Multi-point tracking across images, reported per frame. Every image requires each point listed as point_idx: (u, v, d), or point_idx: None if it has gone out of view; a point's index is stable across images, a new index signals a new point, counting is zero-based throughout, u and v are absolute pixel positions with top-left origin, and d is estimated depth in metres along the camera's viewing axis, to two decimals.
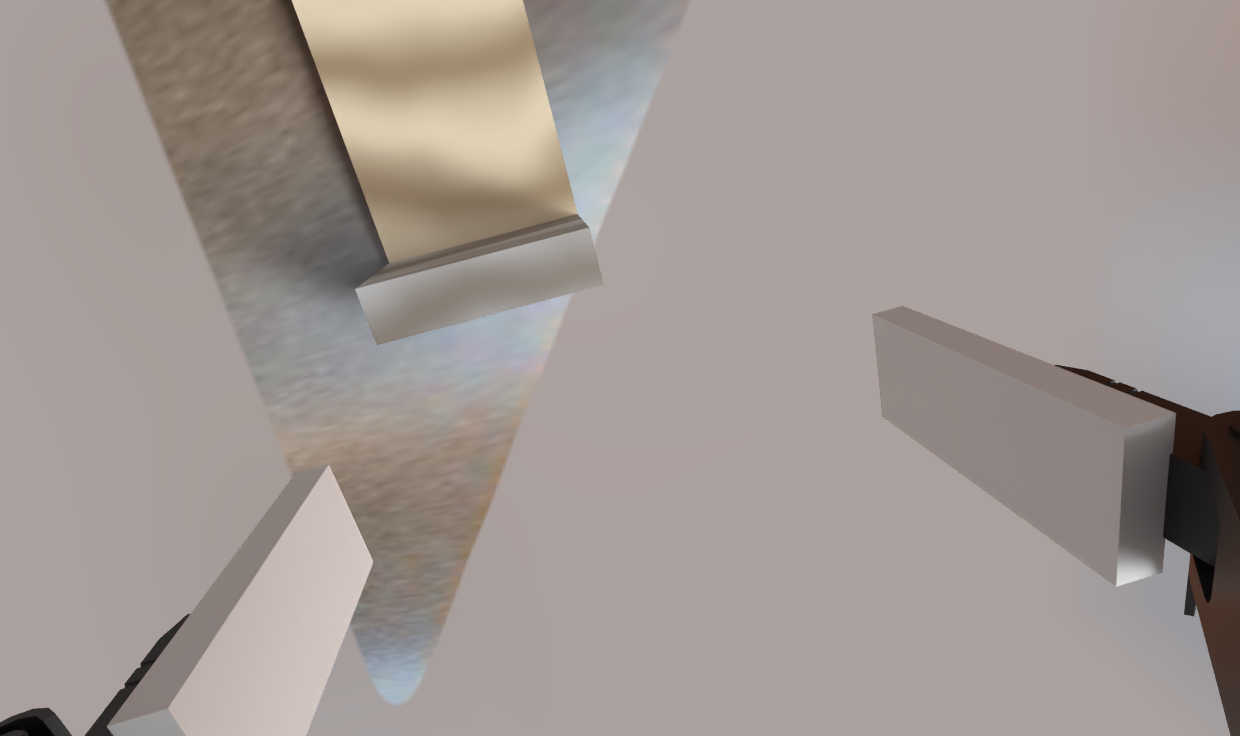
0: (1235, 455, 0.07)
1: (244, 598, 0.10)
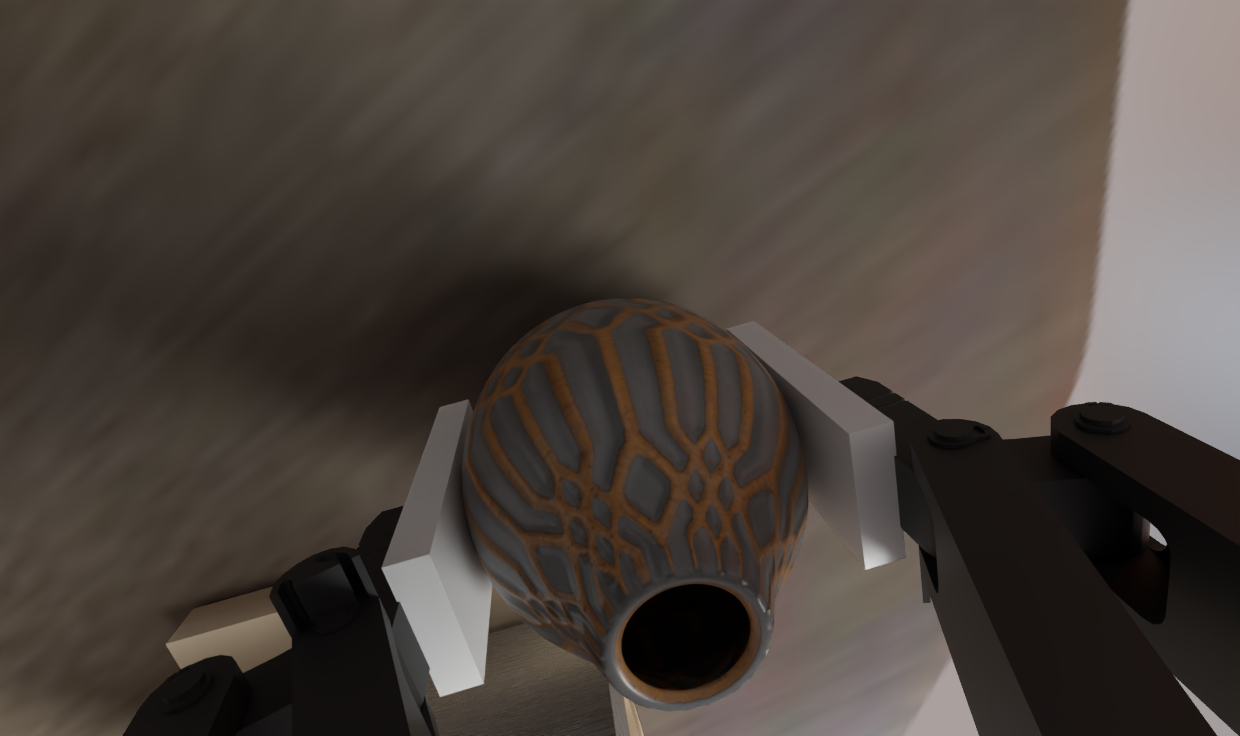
0: (934, 462, 0.09)
1: (448, 488, 0.11)
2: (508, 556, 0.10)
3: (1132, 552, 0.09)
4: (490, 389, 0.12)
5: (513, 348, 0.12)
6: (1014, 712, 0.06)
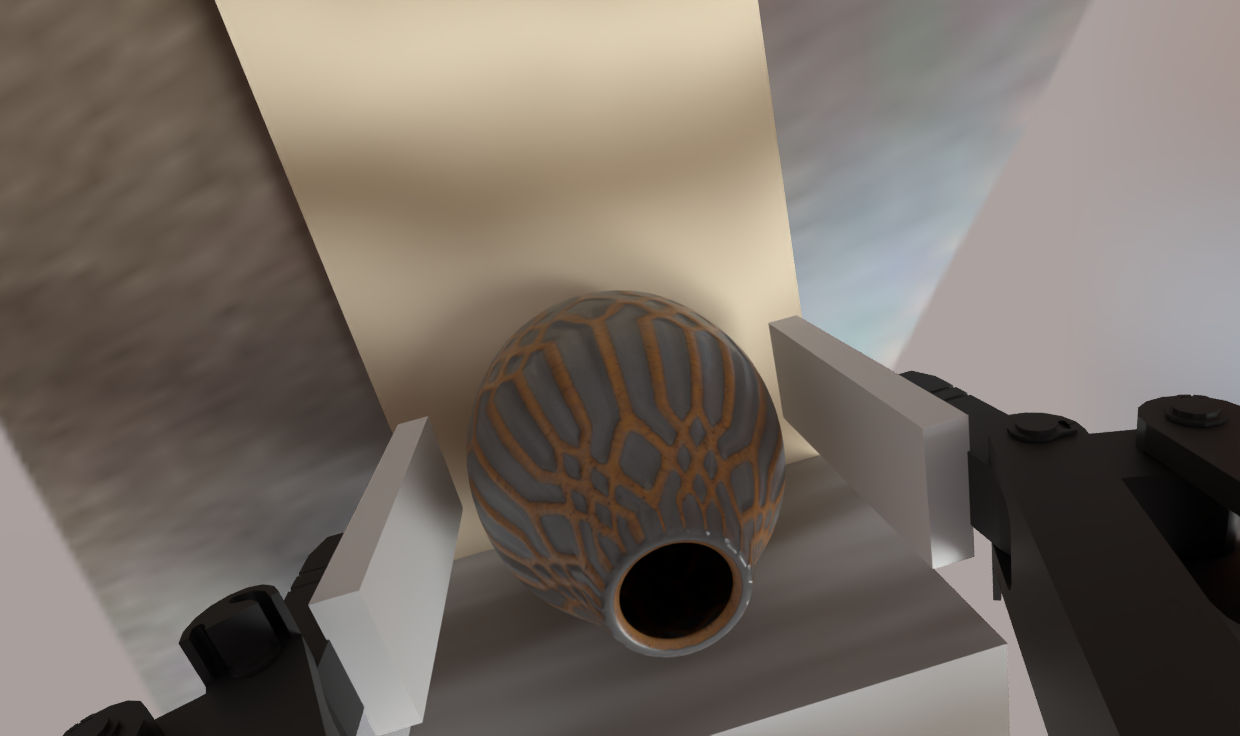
0: (1014, 455, 0.08)
1: (391, 515, 0.11)
2: (515, 525, 0.11)
3: (1222, 552, 0.09)
4: (493, 375, 0.12)
5: (513, 338, 0.13)
6: (1088, 709, 0.06)
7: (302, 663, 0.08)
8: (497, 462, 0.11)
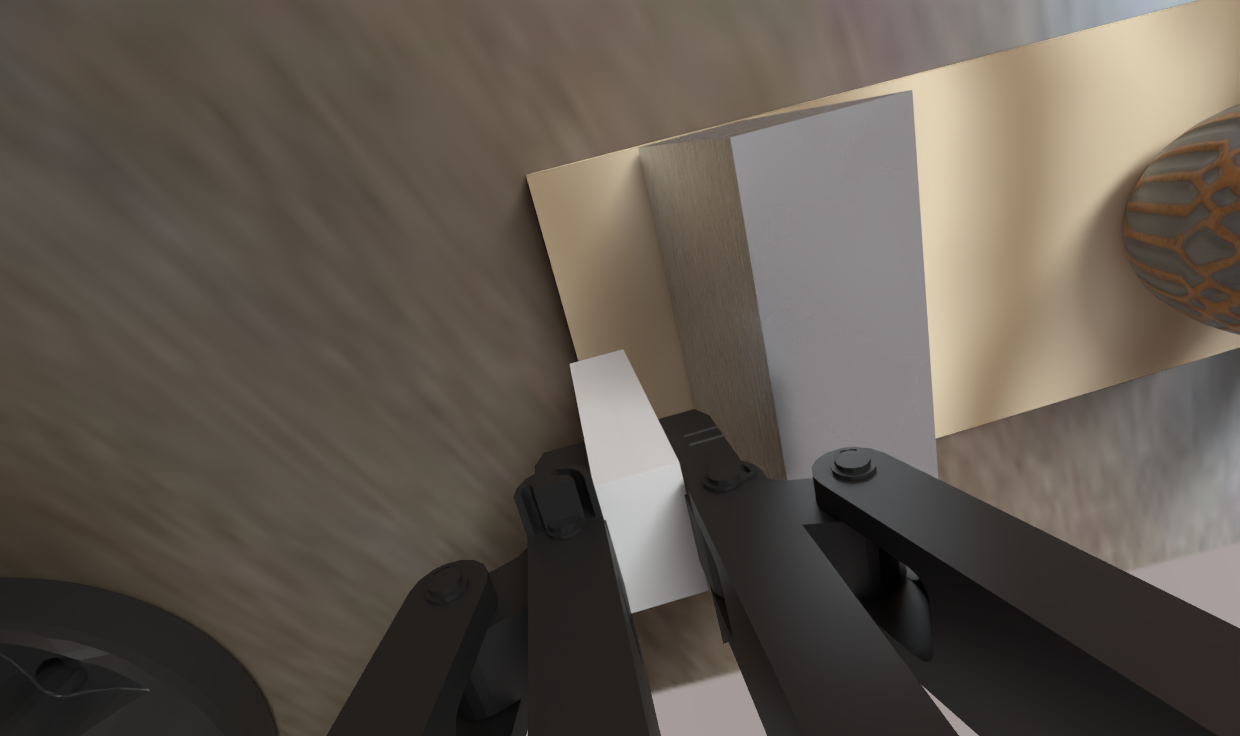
0: (711, 509, 0.09)
1: None
2: None
3: (896, 586, 0.09)
4: (1232, 321, 0.17)
5: (1185, 299, 0.18)
6: None
7: (603, 542, 0.09)
8: None
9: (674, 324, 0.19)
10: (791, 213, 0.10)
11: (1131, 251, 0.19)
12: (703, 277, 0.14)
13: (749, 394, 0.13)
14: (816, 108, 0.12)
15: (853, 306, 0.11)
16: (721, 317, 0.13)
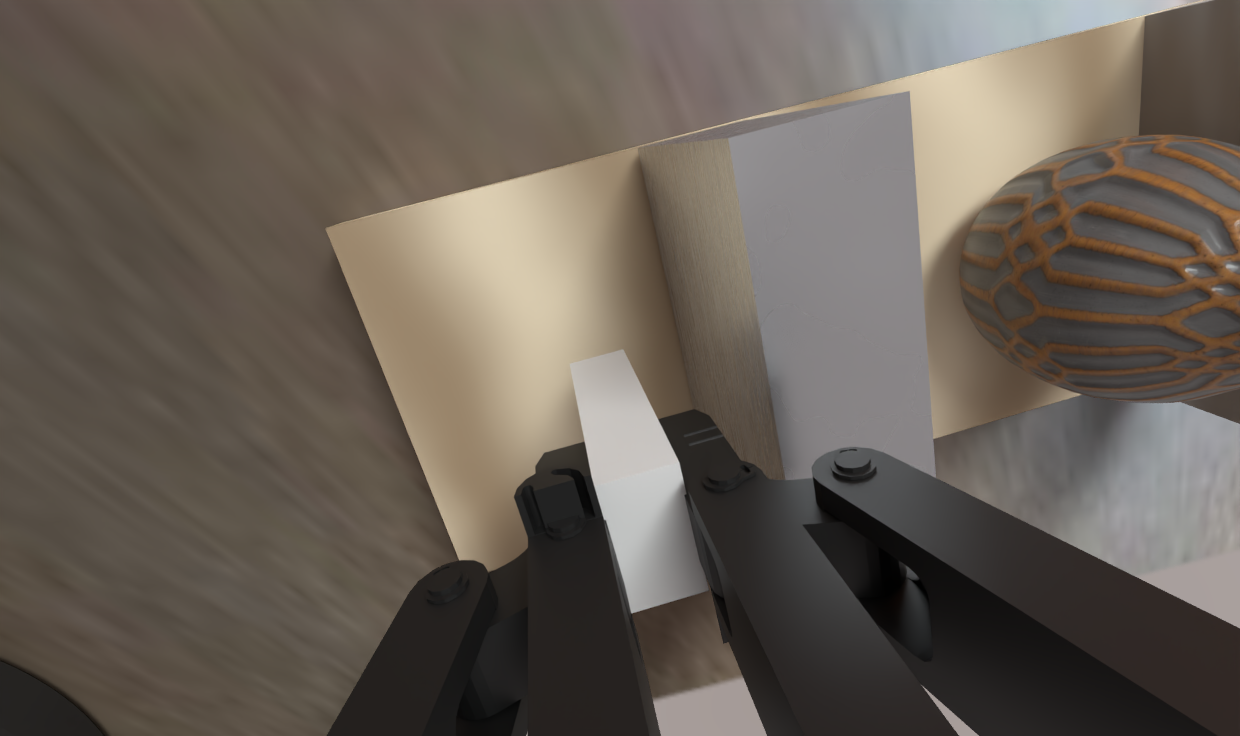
0: (711, 509, 0.09)
1: None
2: (1204, 393, 0.15)
3: (896, 585, 0.09)
4: (1046, 376, 0.17)
5: (1005, 352, 0.18)
6: None
7: (603, 542, 0.09)
8: (1142, 397, 0.15)
9: (497, 373, 0.19)
10: (789, 213, 0.10)
11: (963, 299, 0.19)
12: (702, 277, 0.14)
13: (747, 394, 0.13)
14: (814, 109, 0.12)
15: (852, 306, 0.11)
16: (720, 317, 0.13)
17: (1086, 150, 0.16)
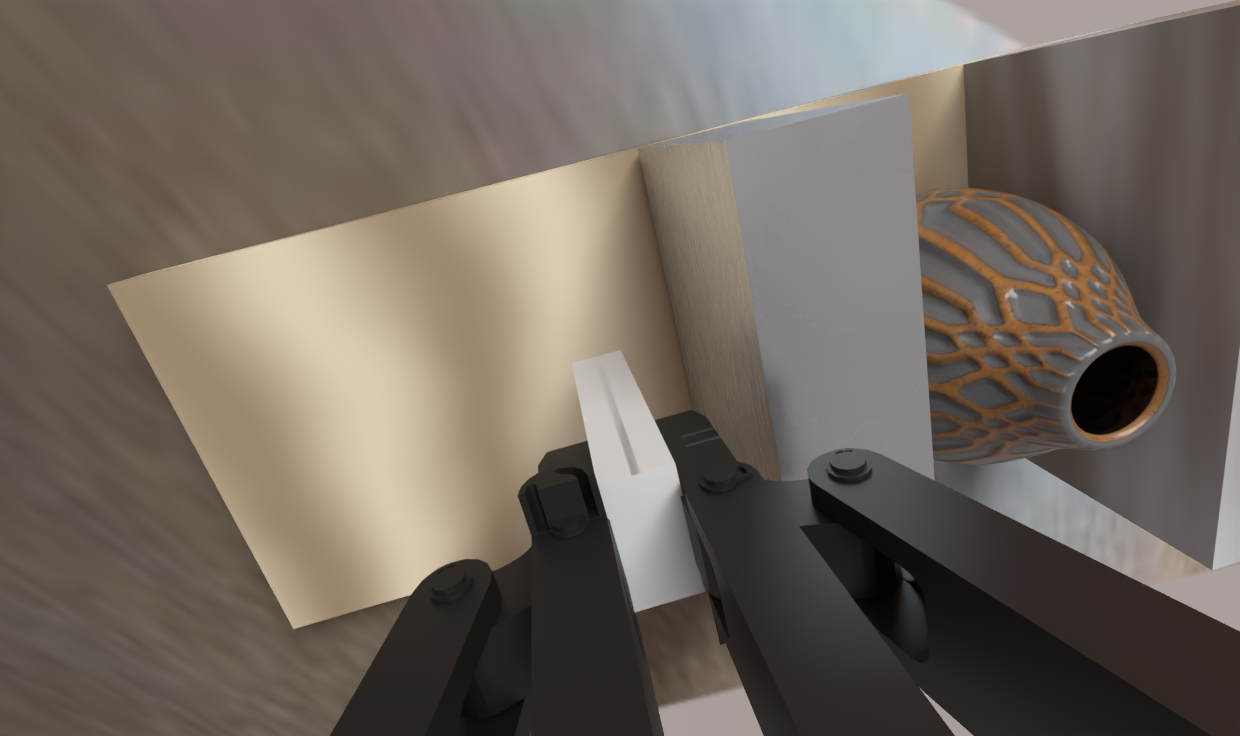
0: (707, 510, 0.09)
1: None
2: (1004, 458, 0.14)
3: (891, 586, 0.09)
4: None
5: None
6: None
7: (607, 541, 0.09)
8: (947, 459, 0.15)
9: (305, 427, 0.18)
10: (787, 216, 0.10)
11: None
12: (701, 279, 0.14)
13: (745, 397, 0.13)
14: (814, 110, 0.12)
15: (849, 310, 0.11)
16: (718, 319, 0.13)
17: None
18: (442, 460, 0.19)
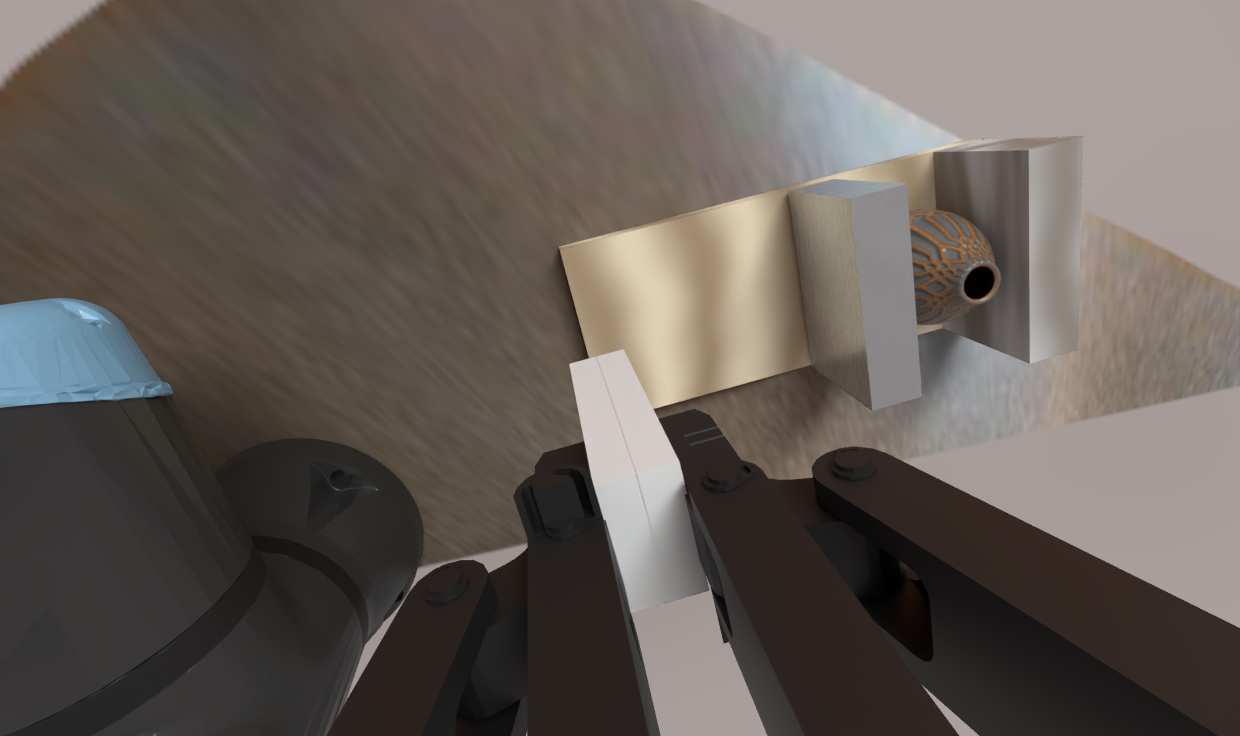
0: (711, 509, 0.09)
1: None
2: (945, 318, 0.36)
3: (897, 585, 0.09)
4: None
5: None
6: None
7: (603, 542, 0.09)
8: (923, 320, 0.36)
9: (628, 317, 0.40)
10: (868, 221, 0.31)
11: None
12: (826, 245, 0.35)
13: (846, 288, 0.34)
14: (873, 183, 0.33)
15: (887, 252, 0.32)
16: (835, 260, 0.34)
17: None
18: (686, 336, 0.41)
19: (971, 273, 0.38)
